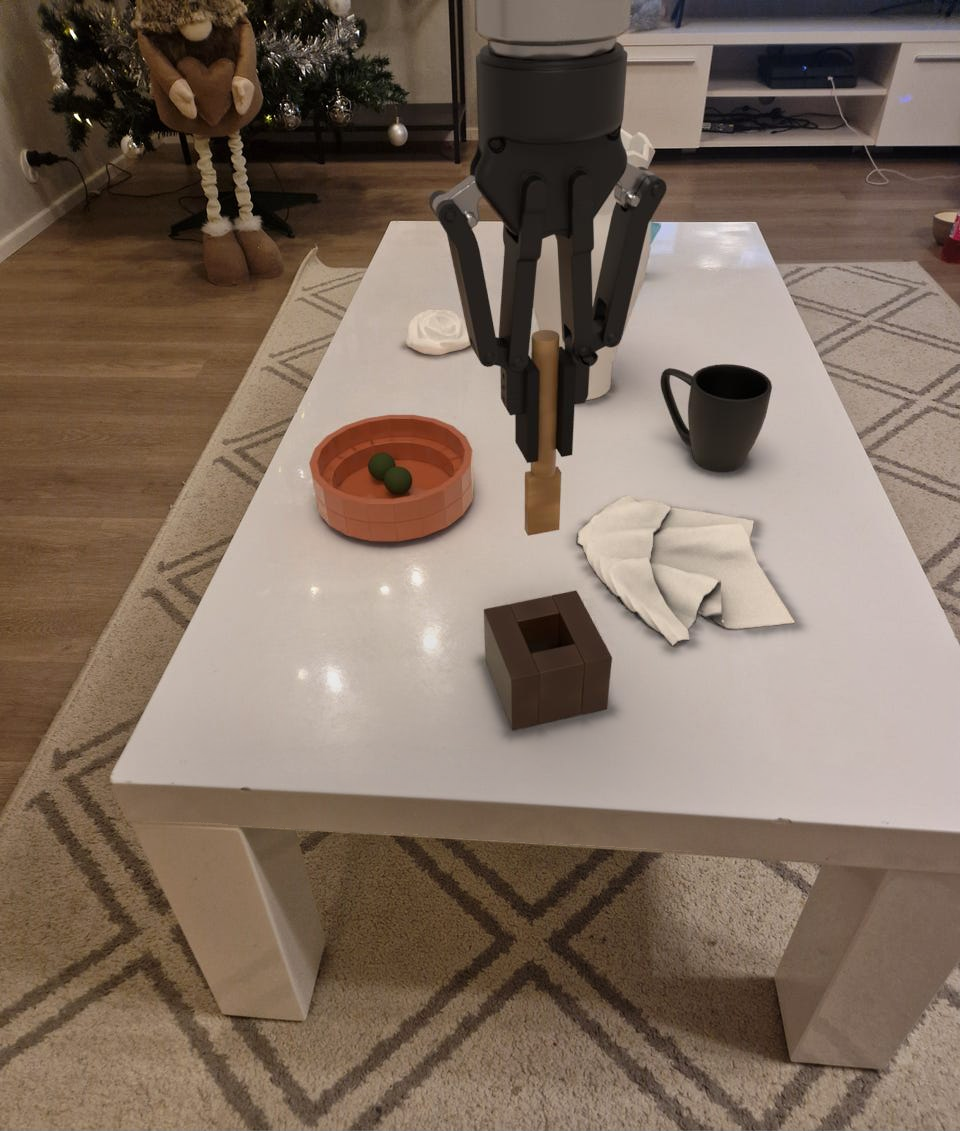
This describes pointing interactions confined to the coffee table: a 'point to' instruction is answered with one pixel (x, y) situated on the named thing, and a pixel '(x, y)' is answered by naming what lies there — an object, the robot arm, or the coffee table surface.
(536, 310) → the vase
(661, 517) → the cloth
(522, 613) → the holder
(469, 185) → the robot arm
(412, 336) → the rose
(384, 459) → the ball
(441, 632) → the coffee table surface
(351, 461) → the bowl
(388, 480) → the olive
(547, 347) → the stick
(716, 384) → the mug
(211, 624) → the coffee table surface
